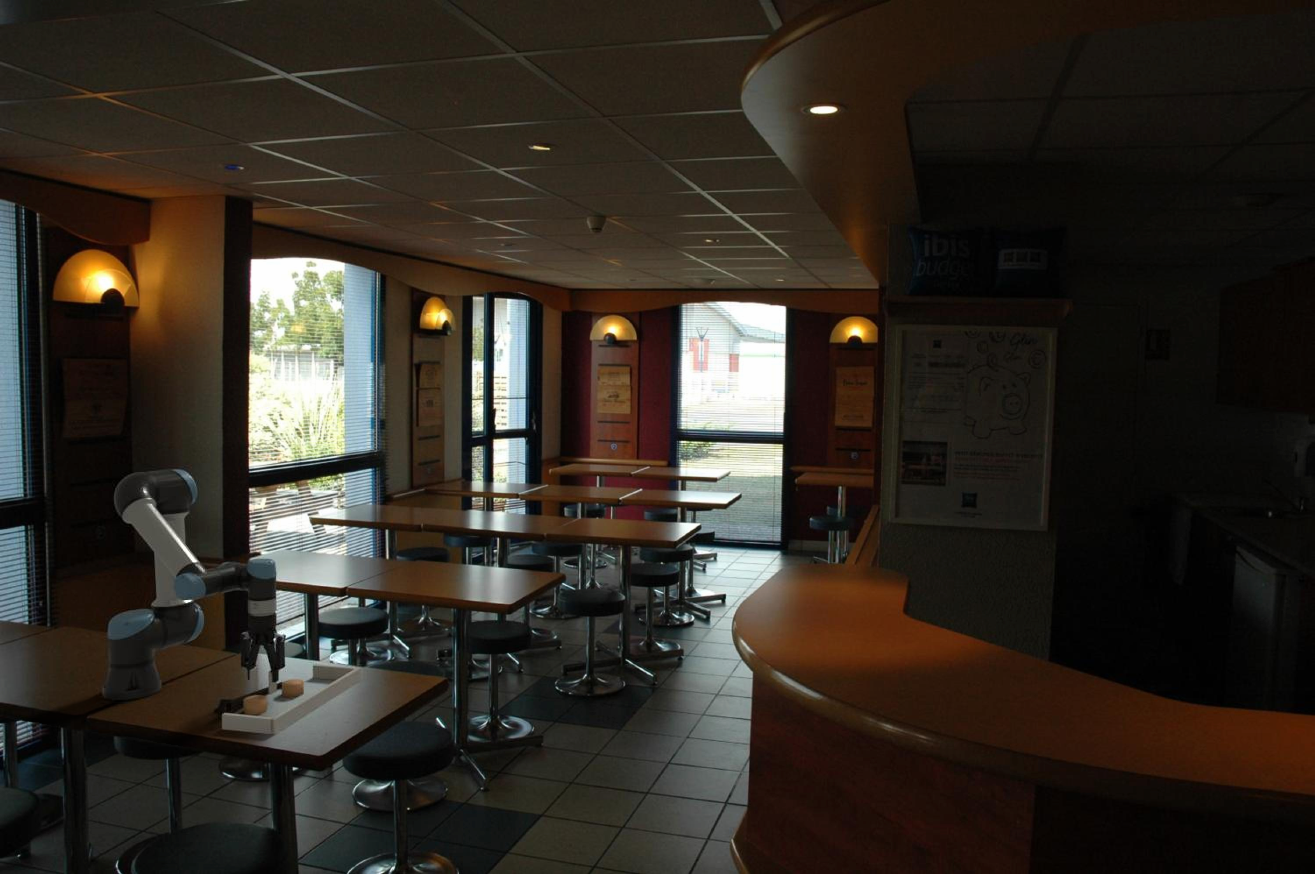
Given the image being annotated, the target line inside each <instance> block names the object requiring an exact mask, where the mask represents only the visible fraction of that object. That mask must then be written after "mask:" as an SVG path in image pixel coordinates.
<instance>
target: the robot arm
mask: <svg viewBox="0 0 1315 874" xmlns="http://www.w3.org/2000/svg"><path fill="white" fill-rule="evenodd" d="M197 496H198V488H197V484H196V482H195V480H194V478H193V476H191V474H190V473H188V472H187V471H185V470H182V469H171V468H169V469H161V470H152V471H143V472H142V471H138V472H133V473H130V474H128V475H126V476H124V478H122V479H121V480H120V481H119V483H118V484H117V486H116V488H115V490H114V494H113V502H114V506H115V510H116V512H117V513H118V516H119V517H120V518H121V519H122V520H123V522H125V523H126V524H131V525H132V527H133V528H135V530H136V531H137V533H138V534H139V535H140V537H142V539H143V540H144V542H146V543H147V545H148V546H149V547H150V549H151V550H152V551H153V554H154V569H155V570H154V571H155V590H156V592H155V593H156V598H155V600H154V601H153V602H152V603H151V604H150V605H151V609H149V608H139V609H138V608H137V609H134V610H133V609H131V610H128V611H124V612H121V613H118V614H116V615H114V616H113V617H112V618H111V619H110V621H109V622H108V629H107V634H106V635H107V639H108V641H107V642H108V644H107V645H108V647H107V648H108V671H107V673H106V676H105V680H104V683H103V686H102V691H101V692H102V694H101V695H103V696H102V698H104V699H107V700H111V701H127V700H135V699H140V698H145V697H149V696H151V695H152V696H153V695H154V694H156V693H158V692H160V690H161V689H162V679H161V677H160V676H159V672H158V670H157V666H156V664H155V652H157V651H160V650H163V649H168V648H171V647H175V646H178V645H180V646H181V645H183V644H186V643H189V642H191V641H193V640H195V639H196V638H198V637H199V635H200V634H201V632H202V630H203V628H204V623H205V617H204V613H203V610H202V608H201V606H200V605H199V604H197V603H196V602H195V600H200V599H202V598H205V597H206V598H207V597H211V596H215V595H219V594H224V593H228V592H232V591H244V592H247V595H248V596H247V603H248V604H247V610H248V611H247V613H248V617H247V623H248V625H247V626H248V631H244V632H241V633H240V634H239V639H240V667H241V668H245V669H246V670H247V673H246V674H247V680H248V681H249V693H252V692H255V691H258V690H259V667H257V666H258V665H257V660H258V657H259V652H260V648H261V646H263V649H264V650H265V652H266V656H267V660H268V664H269V668H270V670H269V671H268V672H267V673H268V687H269V693H268V695H272V694H275V693H276V692H277V691H278V689H277V683H278V681H279V679H280V677H279V675H280V674H279V672H280V671H281V670H282V669H284V668H285V667H286V651H285V649H286V648H285V643H286V638H287V635H286V634H284V633H283V634H280V633H278V631H277V627H276V626H277V624H278V623H277V621H278V619H277V617H278V616H277V613H276V611H277V609H278V608H277V575H278V574H277V566H276V561H275V560H274V559H272V558H254V559H250V560H248V562H247V564H246V563H240V562H236V561H230V562H229V561H226V562H222V563H221V564H220V565H219V566H217V567H213V568H205V566H204V565H203V563H201V562H200V561H199V560H198V558H197V557H196V555H195V554H194V553H193V552H192V551H191V550H190V548H189V547H188V546H187V544H186V528H185V525H186V524H185V517H186V516H187V515H188V514H190V506H192V505H193V504H194V503H195V502H196V499H197Z"/></svg>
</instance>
